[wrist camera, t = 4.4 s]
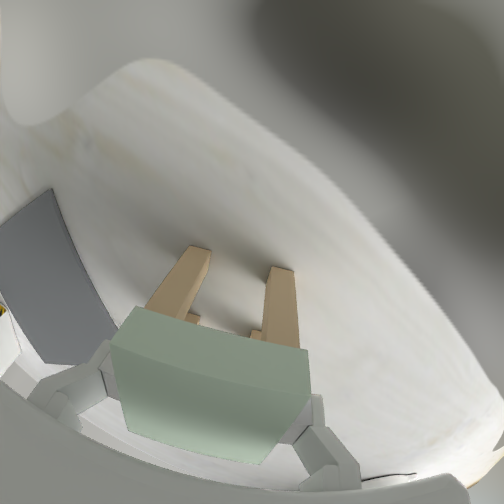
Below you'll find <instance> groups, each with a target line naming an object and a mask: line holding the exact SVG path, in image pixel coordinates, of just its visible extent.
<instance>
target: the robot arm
mask: <svg viewBox="0 0 504 504" xmlns="http://www.w3.org/2000/svg"><path fill="white" fill-rule="evenodd" d="M109 342H110V340H107V339H106V340H104V341H103V342H102V343H101V345H100V346H99V348H98V349H97V350H96V352H95V353H94V355H93V356H92V357H91V359H90V360H89V362H88V363H87V364H86V363H82V364H80V365H77V366H75V367H72V368H70V369H67V370H64V371H62V372H59V373H57V374H54V375H51V376H49V377H46V378H43V379H41V380H40V382H39V383H38V384H37V386H36V387H35V388H34V390H33V391H32V393H31V394H30V395H29V397H28V398H27V399H25V398H24V397H22V396H21V395H20V394H18V393H17V392H15V391H14V390H13V389H12V388H10V387H9V386H8V385H7V384H5V383H4V382H3V381H1V379H0V504H471V503H470V497H469V494H468V491H467V488H466V487H465V486H464V485H463V484H462V483H461V482H460V481H459V480H458V479H457V478H456V477H454V476H453V475H452V474H450V473H443V474H440V475H436V476H432V477H428V478H424V479H420V480H417V479H418V475H417V474H413V475H407V476H405V475H394V476H387V477H382V478H377V479H372V480H368V481H364V482H361V475H360V467H359V463H358V462H357V461H356V460H355V458H354V457H353V456H352V455H351V454H350V452H349V451H348V450H347V449H346V448H345V446H344V445H343V444H342V443H341V442H340V440H339V439H338V438H337V437H336V435H335V434H334V433H333V432H332V430H331V429H330V428H329V427H325V417H324V407H323V398H322V396H321V395H317V394H311V397H310V399H309V400H308V402H307V403H306V405H305V406H304V408H303V409H302V411H301V412H300V413H299V415H298V416H297V418H296V419H295V420H294V422H293V423H292V424H291V426H290V427H289V429H288V430H287V431H286V433H285V434H284V435H283V436H282V438H281V439H280V440H279V442H278V443H283V444H291V445H292V446H293V448H294V449H295V451H296V453H297V454H298V456H299V458H300V460H301V461H302V463H303V465H304V466H305V468H306V470H307V471H308V473H309V475H310V477H309V478H308V479H306V480H305V481H304V482H302V483H301V484H299V491H283V490H270V489H260V488H252V487H245V486H238V485H232V484H226V483H221V482H216V481H211V480H206V479H202V478H197V477H194V476H190V475H186V474H182V473H178V472H175V471H172V470H168V469H165V468H162V467H159V466H156V465H153V464H150V463H147V462H144V461H142V460H139V459H136V458H134V457H131V456H129V455H126V454H124V453H121V452H119V451H117V450H114V449H112V448H110V447H108V446H105V445H103V444H101V443H99V442H97V441H95V440H93V439H91V438H89V437H87V436H85V435H83V434H81V433H80V432H81V430H82V428H83V426H82V423H81V422H80V420H79V418H78V416H77V415H78V414H80V413H82V412H83V411H85V410H87V409H88V408H90V407H92V406H94V405H95V404H97V403H99V402H100V401H102V400H104V399H105V398H107V396H109V397H111V398H114V399H116V400H119V401H120V398H119V393H118V389H117V384H116V379H115V375H114V369H113V364H112V358H111V352H110V346H109Z"/></svg>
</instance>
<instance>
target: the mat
mask: <svg viewBox="0 0 504 504" xmlns="http://www.w3.org/2000/svg"><path fill="white" fill-rule="evenodd" d="M0 292H1V294H2V296H3V298H4V300H5V302H6V303H7V305H8V307H9V309H10V311H11V312H12V314H13V316H14V318H15V319H16V321H17V323H18V324H19V326H20V327H21V329H22V331H23V332H24V334H25V335H26V337H27V338H28V340H29V341H30V343H31V344H32V346H33V347H34V349H35V350H36V352H37V353H38V354H39V356H40V357H41V359H42V360H43V361H44V363H48V364H61V365H80V364H82V363H86V364H87V363H88V362H89V360H90V359H91V357H92V356H93V355H94V353H95V352H96V350H97V349H98V348H99V346H100V345H101V343H102V342H103V341H104V340H106V339H107V340H110V341H111V339H112V338H113V337H114V335H115V334H116V332H117V331H118V329H117V327H116V326H115V324H114V322H113V321H112V319H111V317H110V315H109V314H108V312H107V310H106V309H105V307H104V305H103V303H102V301H101V300H100V298H99V296H98V294H97V292H96V290H95V288H94V287H93V285H92V283H91V281H90V279H89V277H88V275H87V273H86V271H85V269H84V267H83V265H82V263H81V260H80V258H79V256H78V254H77V252H76V250H75V247H74V245H73V243H72V240H71V238H70V236H69V233H68V231H67V229H66V226H65V224H64V221H63V218H62V216H61V213H60V211H59V208H58V205H57V202H56V200H55V197H54V194H53V191H52V189H50V190H47V191H46V192H45V193H43V194H42V195H40V196H39V197H38V198H36V199H35V200H34V201H32V202H31V203H30V204H28V205H27V206H26V207H24V208H23V209H22V210H20V211H19V212H18V213H17V214H15V215H14V216H13V217H12V218H10V219H9V220H8V221H7V222H6V223H4V224H3V225H2V226H1V227H0Z"/></svg>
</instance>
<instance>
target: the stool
mask: <svg viewBox="0 0 504 504" xmlns="http://www.w3.org/2000/svg"><path fill="white" fill-rule="evenodd" d="M210 256H211V251H210V250H206V249H202V248H198V247H194V246H189V247H188V248H187V249H186V251H185V252H184V253H183V255H182V256H181V257H180V259H179V260H178V261H177V263H176V264H175V265H174V267H173V268H172V269H171V271H170V272H169V274H168V275H167V276H166V278H165V279H164V280H163V282H162V283H161V285H160V286H159V287H158V289H157V290H156V291H155V293H154V294H153V296H152V297H151V298H150V300H149V301H148V303H147V304H146V306H145V307H144V308H141V307H138V306H135V308H134V309H133V310H132V312H131V313H130V314H129V316H128V317H127V318H126V320H125V321H124V323H123V324H122V325H121V327H120V328H119V330H118V331H117V332H116V334H115V335H114V337H113V338H112V339H111V341H110V342H109V346H110V352H111V358H112V364H113V369H114V375H115V379H116V384H117V389H118V393H119V398H120V402H121V406H122V410H123V414H124V417H125V421H126V425H127V428H128V431H130V432H133V433H136V434H138V435H141V436H144V437H146V438H149V439H152V440H155V441H158V442H161V443H164V444H167V445H170V446H174V447H177V448H180V449H184V450H187V451H191V452H195V453H199V454H203V455H207V456H212V457H216V458H221V459H226V460H231V461H237V462H242V463H249V464H256V465H260V464H261V463H262V461H263V460H264V459H265V458H266V457H267V455H268V454H269V453H270V452H271V450H272V449H273V448H274V447H275V445H276V444H277V443H278V442H279V440H280V439H281V438H282V436H283V435H284V434H285V433H286V431H287V430H288V429H289V427H290V426H291V424H292V423H293V422H294V420H295V419H296V418H297V416H298V415H299V413H300V412H301V411H302V409H303V408H304V406H305V405H306V403H307V402H308V400H309V399H310V397H311V384H310V371H309V360H308V350H305V349H300V343H299V328H298V314H297V302H296V290H295V278H294V272H293V271H289V270H285V269H281V268H277V267H273V266H272V267H271V270H270V273H269V277H268V280H267V283H266V289H265V300H264V310H263V320H262V330H261V331H257V330H252V332H251V335H250V338H248V337H243V336H239V335H235V334H231V333H227V332H223V331H219V330H215V329H212V328H208V327H204V326H200V325H199V321H200V316H198V315H194V314H191V313H187V312H188V310H189V308H190V306H191V304H192V302H193V300H194V298H195V296H196V294H197V292H198V290H199V288H200V286H201V284H202V282H203V280H204V278H205V276H206V274H207V272H208V267H209V262H210Z"/></svg>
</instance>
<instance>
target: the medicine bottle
mask: <svg viewBox="0 0 504 504" xmlns="http://www.w3.org/2000/svg"><path fill="white" fill-rule="evenodd" d="M20 354H21V348H20V346H19V343H18V340H17V337H16V334H15V331H14V328H13V325H12V321H11V318H10V315H9V311H8V309H7V308H6V307H5V306H4V305H2V304H1V303H0V377H1V376H2V375H3V374H4V372H5V371H6V370H7V369H8V368H9V366H10V365H11V364H12V363H13V362H14V360H15V359H16V358H17V357H18V356H19V355H20Z"/></svg>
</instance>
